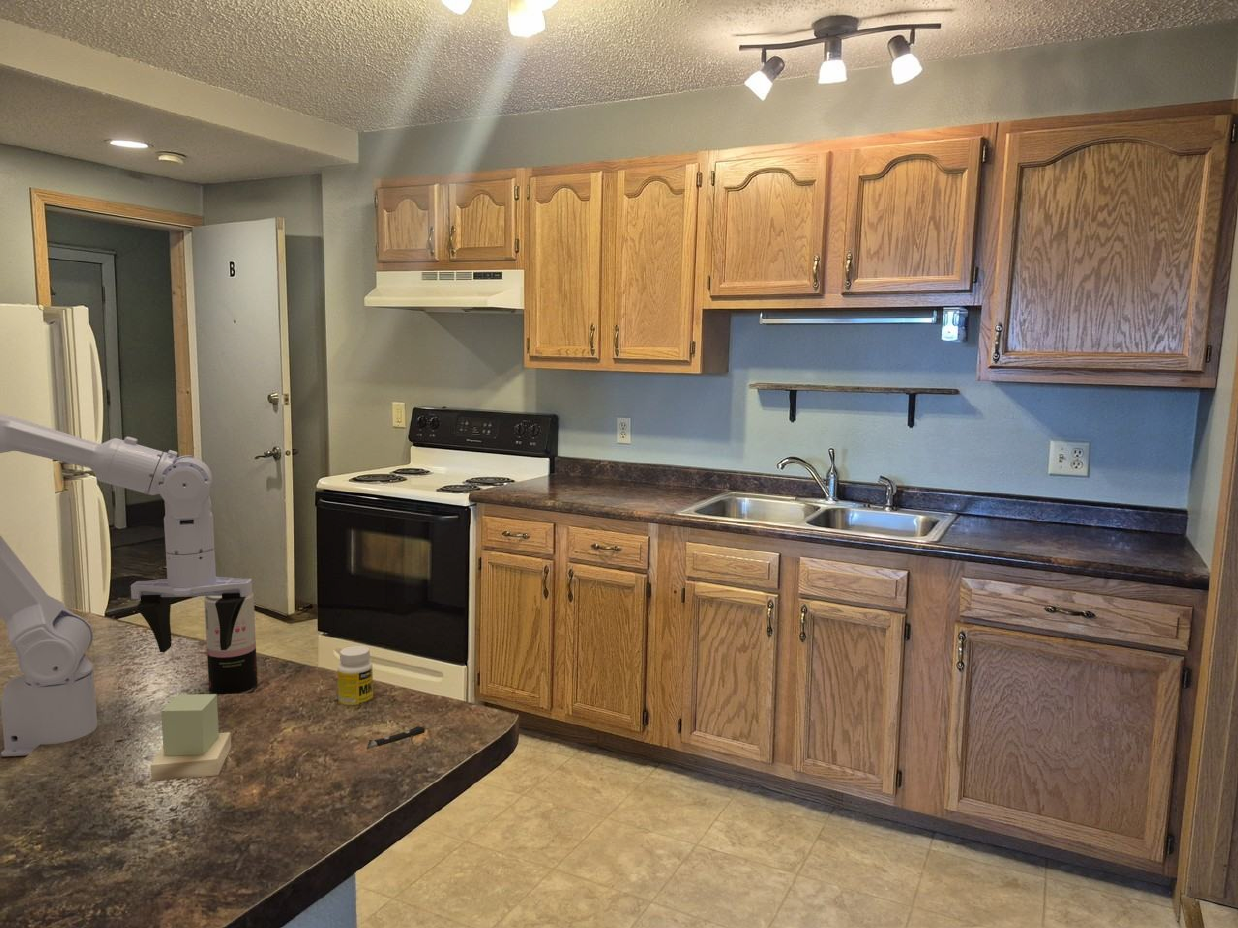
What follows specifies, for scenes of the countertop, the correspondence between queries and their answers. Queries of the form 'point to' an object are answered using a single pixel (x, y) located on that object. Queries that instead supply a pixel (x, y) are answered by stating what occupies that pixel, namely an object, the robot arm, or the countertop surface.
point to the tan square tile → (192, 762)
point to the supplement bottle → (355, 676)
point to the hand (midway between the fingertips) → (196, 648)
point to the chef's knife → (395, 737)
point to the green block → (190, 724)
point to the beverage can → (231, 650)
